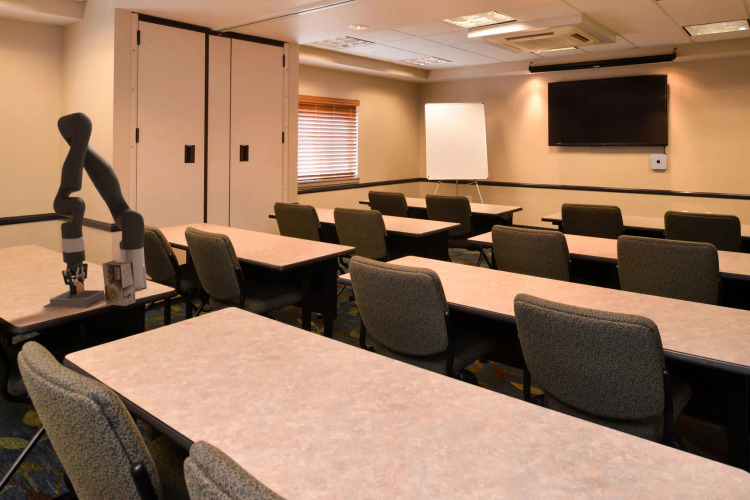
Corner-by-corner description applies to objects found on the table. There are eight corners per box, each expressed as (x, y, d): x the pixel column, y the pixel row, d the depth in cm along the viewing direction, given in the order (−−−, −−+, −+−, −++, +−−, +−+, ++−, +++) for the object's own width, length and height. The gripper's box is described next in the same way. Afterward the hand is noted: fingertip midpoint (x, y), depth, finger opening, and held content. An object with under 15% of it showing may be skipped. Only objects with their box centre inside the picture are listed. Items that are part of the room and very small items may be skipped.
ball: (84, 291, 217) (83, 279, 216) (84, 294, 213) (83, 282, 212) (70, 293, 215) (69, 280, 214) (70, 296, 210) (68, 283, 209)
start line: (69, 296, 221) (69, 296, 221) (48, 307, 207) (48, 306, 207) (65, 296, 221) (64, 296, 221) (43, 306, 207) (43, 306, 207)
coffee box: (136, 302, 215) (133, 261, 212) (123, 306, 209) (120, 265, 206) (117, 299, 218) (114, 259, 215) (105, 304, 212) (101, 262, 209)
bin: (104, 297, 221) (103, 290, 220) (86, 307, 207) (85, 299, 207) (70, 297, 221) (70, 289, 220) (50, 306, 208) (49, 299, 207)
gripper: (74, 245, 217) (78, 287, 221) (52, 252, 203) (56, 297, 206) (93, 246, 217) (96, 288, 220) (72, 253, 203) (76, 298, 206)
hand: (77, 292), depth 213 cm, fingers closed on ball, 4 cm apart
